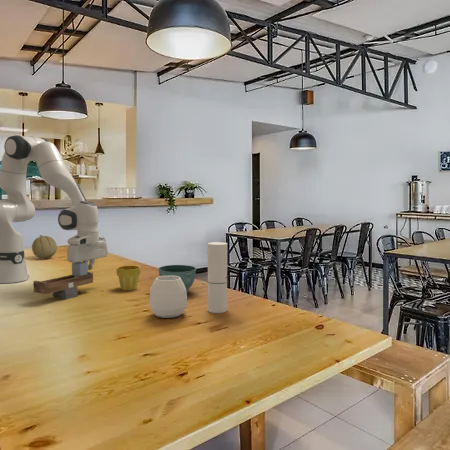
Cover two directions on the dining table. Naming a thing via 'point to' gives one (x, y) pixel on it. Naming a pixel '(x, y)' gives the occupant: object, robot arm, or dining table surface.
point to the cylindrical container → (217, 277)
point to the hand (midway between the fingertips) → (88, 269)
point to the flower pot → (180, 273)
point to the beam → (62, 285)
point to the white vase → (168, 296)
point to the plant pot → (128, 276)
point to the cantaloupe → (44, 247)
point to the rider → (79, 269)
